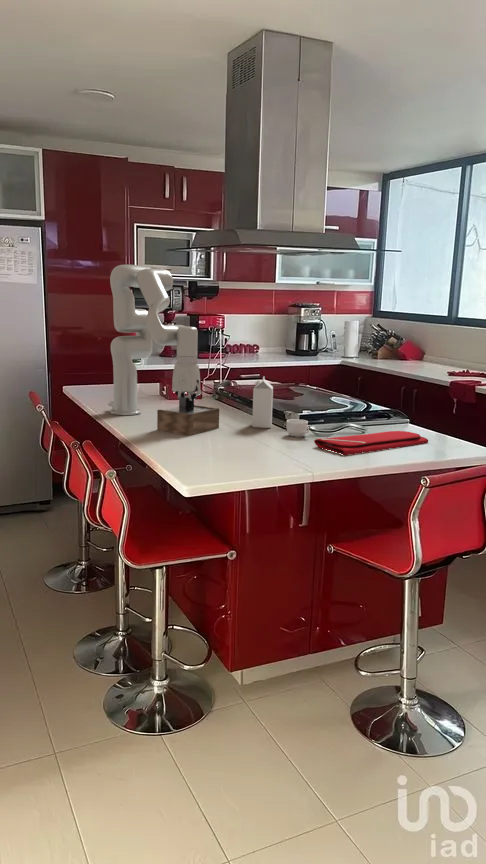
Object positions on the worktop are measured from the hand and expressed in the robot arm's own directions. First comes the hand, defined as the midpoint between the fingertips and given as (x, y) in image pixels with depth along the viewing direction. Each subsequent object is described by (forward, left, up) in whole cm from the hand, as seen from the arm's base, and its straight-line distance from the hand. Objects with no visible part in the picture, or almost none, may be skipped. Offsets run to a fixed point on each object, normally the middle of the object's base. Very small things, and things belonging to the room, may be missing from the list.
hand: (186, 409), depth 257 cm
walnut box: (+1, 0, -7) cm, 7 cm away
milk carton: (+19, +23, -7) cm, 31 cm away
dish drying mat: (+66, +20, -8) cm, 69 cm away
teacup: (+39, +16, -7) cm, 43 cm away
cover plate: (0, 0, -1) cm, 1 cm away
